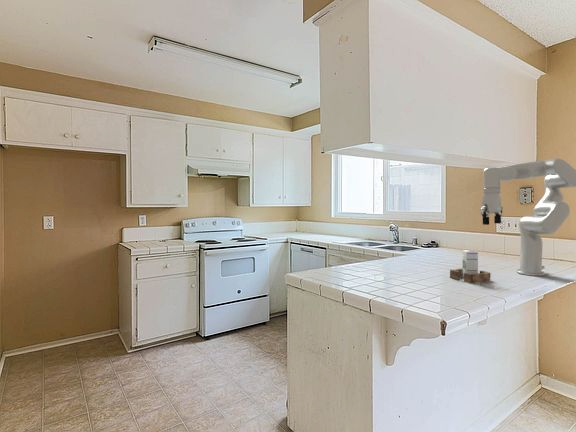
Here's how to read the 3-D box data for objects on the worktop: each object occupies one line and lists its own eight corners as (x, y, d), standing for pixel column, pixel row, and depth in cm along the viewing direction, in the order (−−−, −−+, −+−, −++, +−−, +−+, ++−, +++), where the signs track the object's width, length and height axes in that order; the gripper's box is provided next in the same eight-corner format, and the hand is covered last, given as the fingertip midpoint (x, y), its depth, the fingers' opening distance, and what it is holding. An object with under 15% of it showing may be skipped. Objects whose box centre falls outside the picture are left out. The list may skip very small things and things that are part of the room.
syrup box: (478, 280, 164) (479, 251, 163) (465, 280, 165) (466, 251, 164) (474, 278, 169) (474, 250, 169) (461, 277, 170) (462, 249, 170)
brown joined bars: (466, 275, 176) (466, 267, 176) (491, 280, 164) (491, 272, 164) (448, 277, 170) (449, 270, 170) (473, 283, 158) (473, 275, 158)
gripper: (494, 191, 179) (495, 222, 180) (474, 192, 172) (474, 224, 172) (509, 190, 172) (509, 223, 173) (488, 191, 165) (488, 225, 166)
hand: (491, 223), depth 173 cm, fingers open, 9 cm apart
